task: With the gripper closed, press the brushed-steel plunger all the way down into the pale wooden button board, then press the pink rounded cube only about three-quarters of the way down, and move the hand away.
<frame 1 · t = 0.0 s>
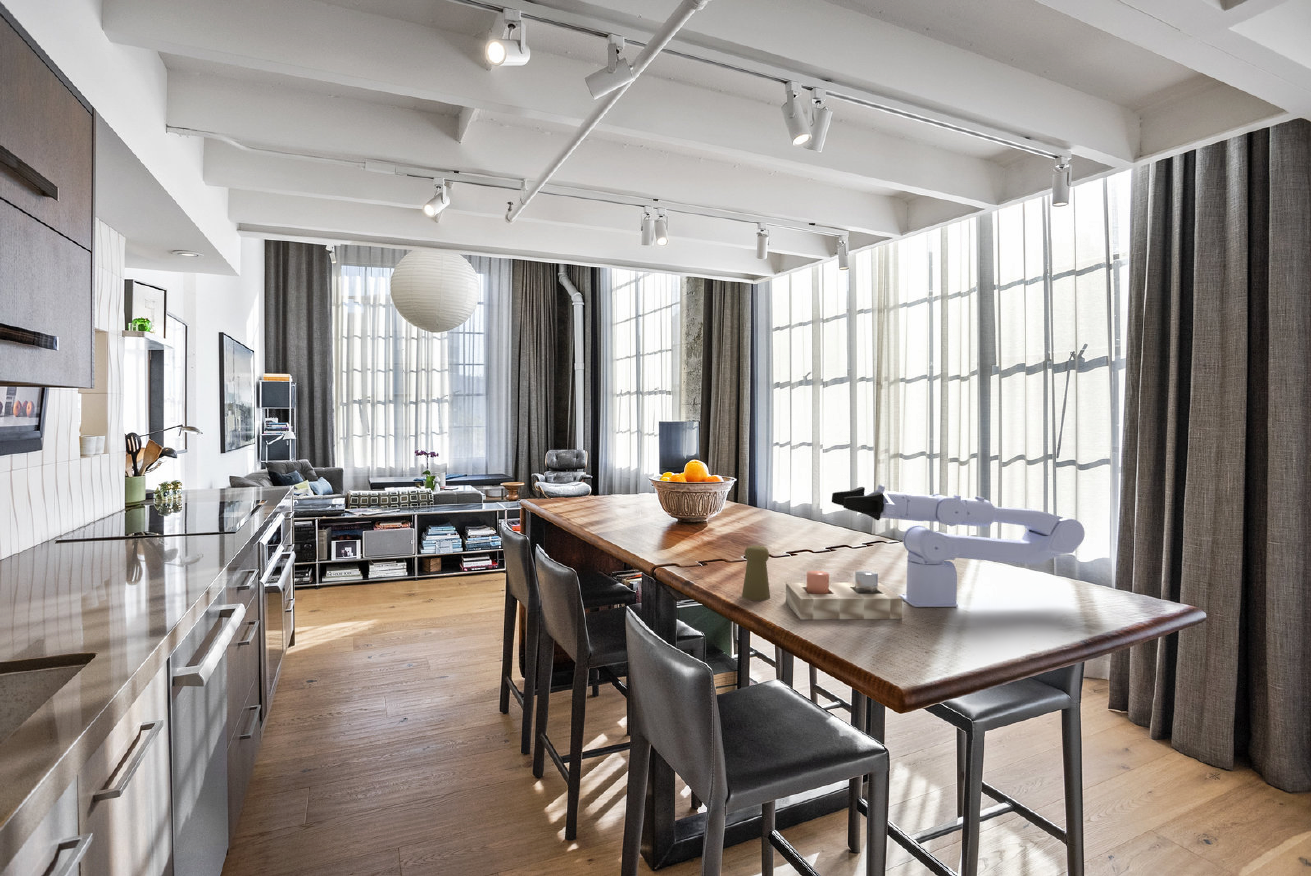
hand: (838, 500, 141), 22 cm above the table, tool horizontal, fingers open, 7 cm apart
steel plunger: (866, 582, 137), point 5 cm above the table, slide at 0.0 cm
pink rounded cube: (817, 583, 136), point 6 cm above the table, slide at 0.0 cm
button board: (841, 609, 137), on the table
olive pawn: (756, 597, 146), on the table
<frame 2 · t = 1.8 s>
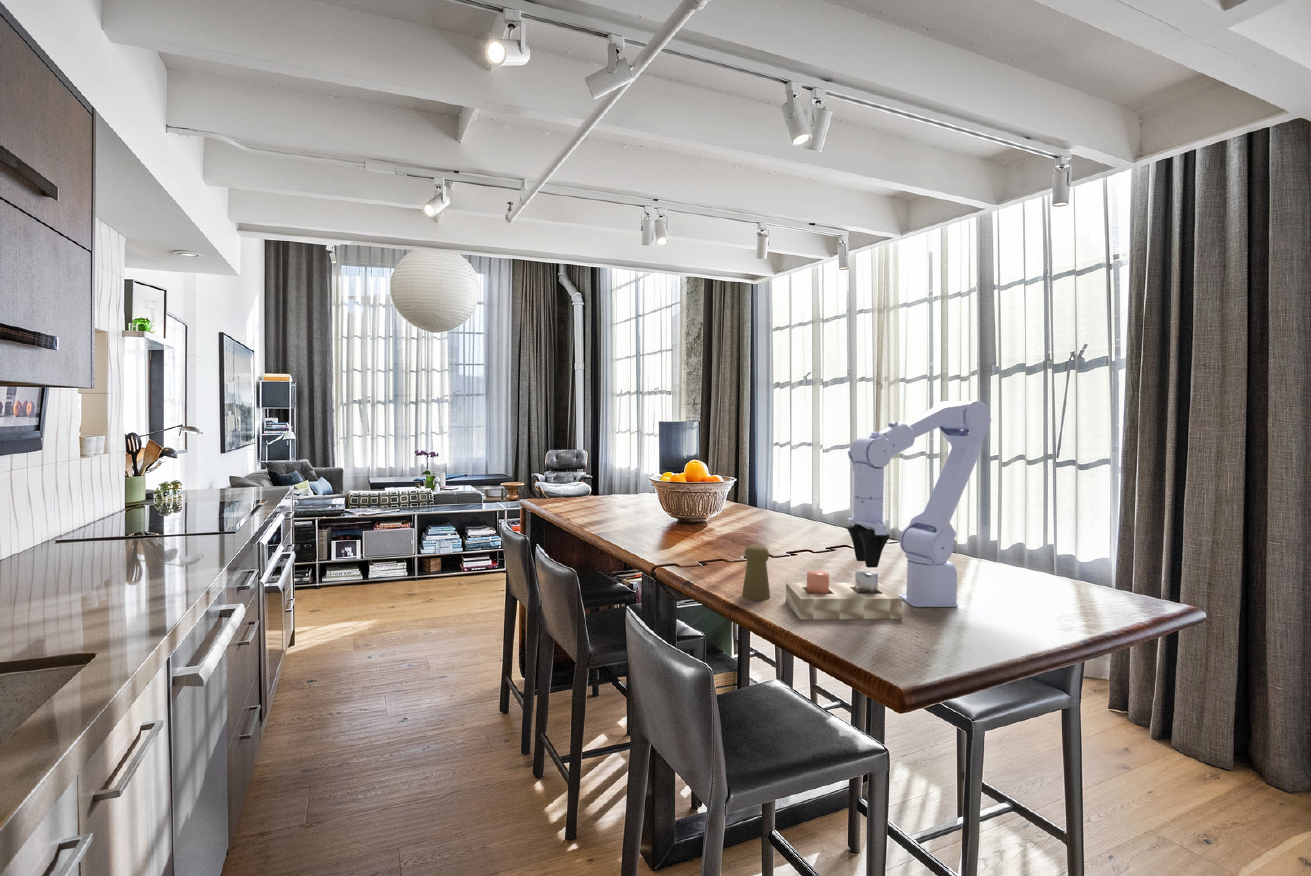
hand: (866, 563, 136), 9 cm above the table, tool pointing down, fingers open, 5 cm apart
nothing on the table moved.
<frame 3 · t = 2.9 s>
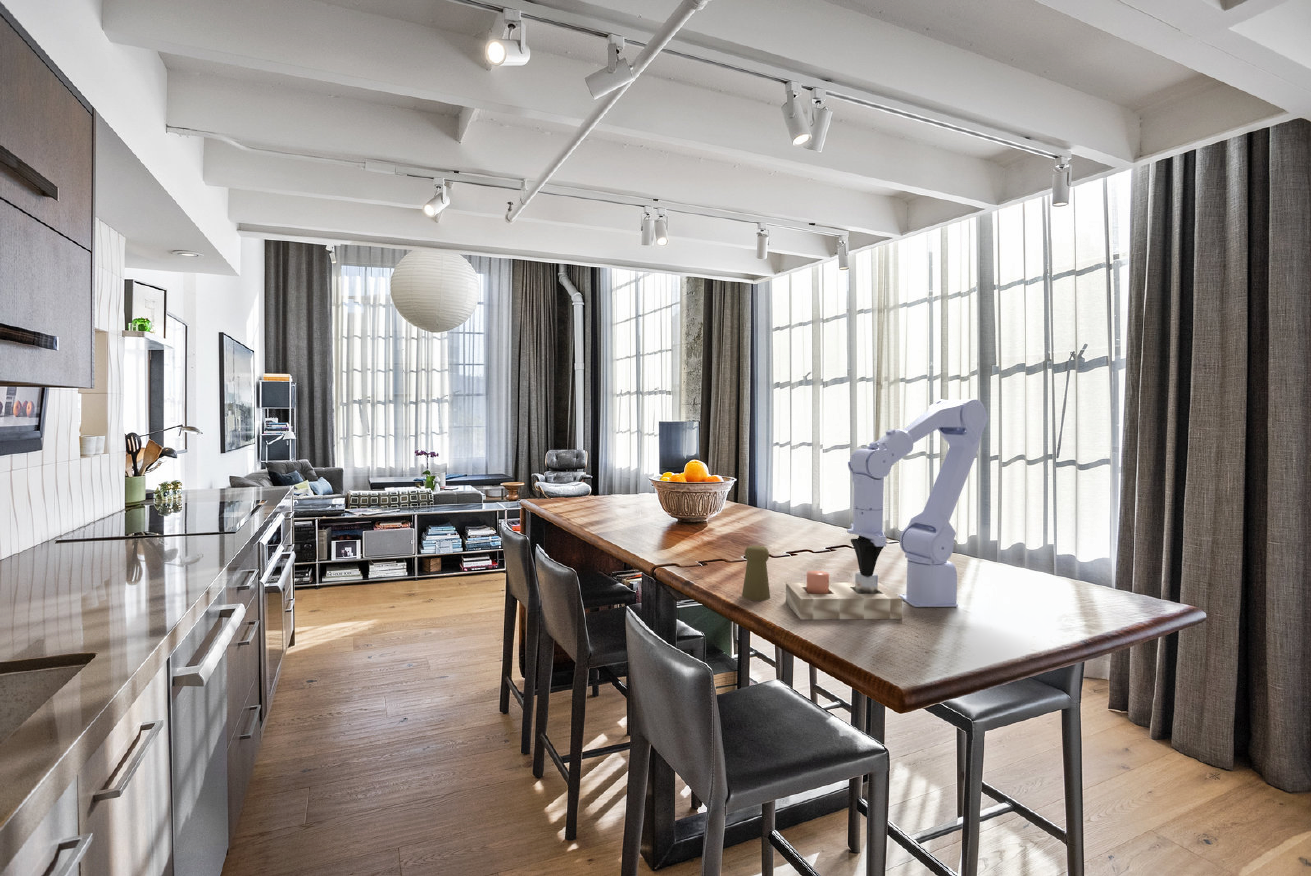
hand: (866, 574, 136), 7 cm above the table, tool pointing down, fingers closed, pressing on steel plunger
steel plunger: (866, 584, 137), point 5 cm above the table, slide at 0.3 cm, touching gripper
everything else where it was.
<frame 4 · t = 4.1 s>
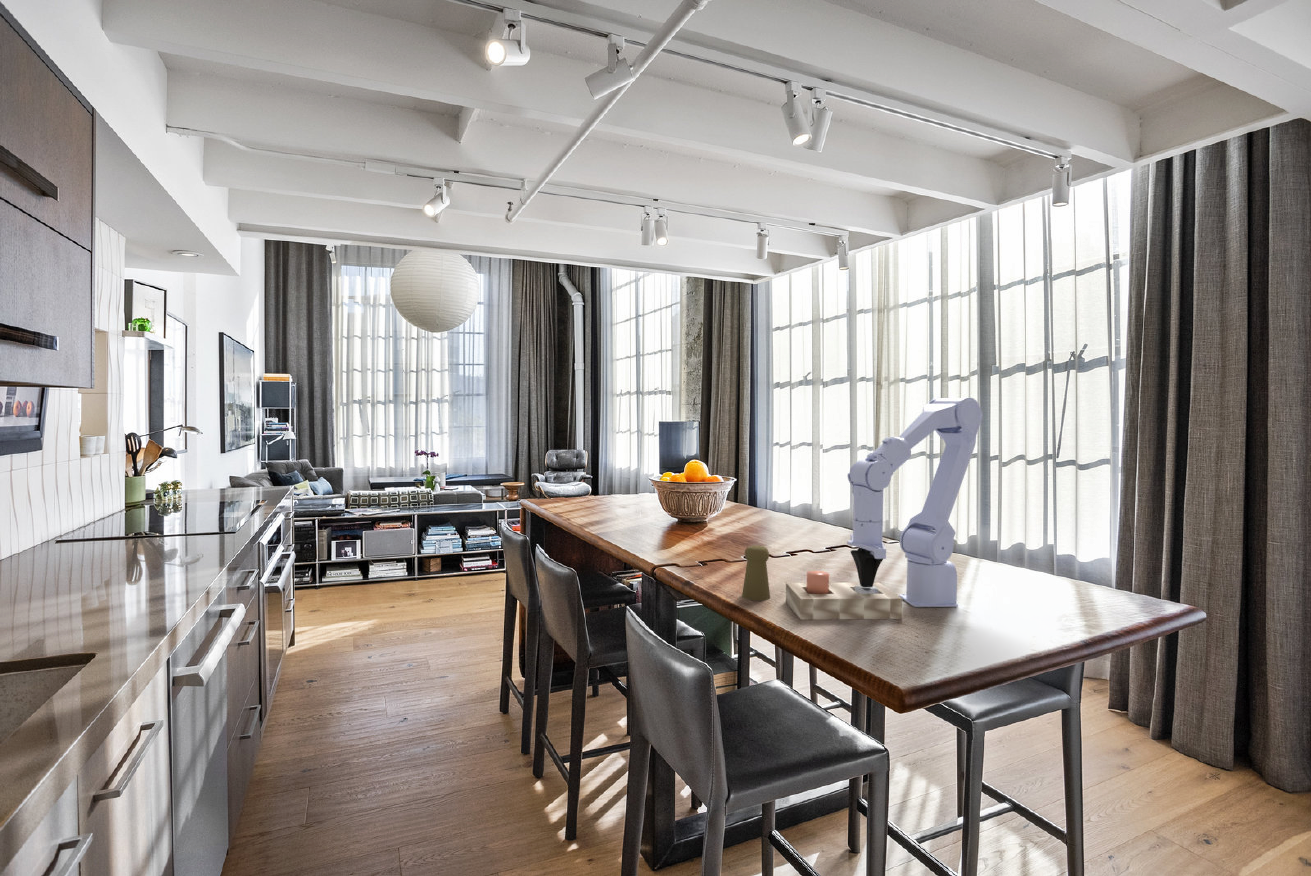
hand: (866, 586, 137), 5 cm above the table, tool pointing down, fingers closed
steel plunger: (865, 597, 137), point 2 cm above the table, slide at 3.0 cm
everything else where it was.
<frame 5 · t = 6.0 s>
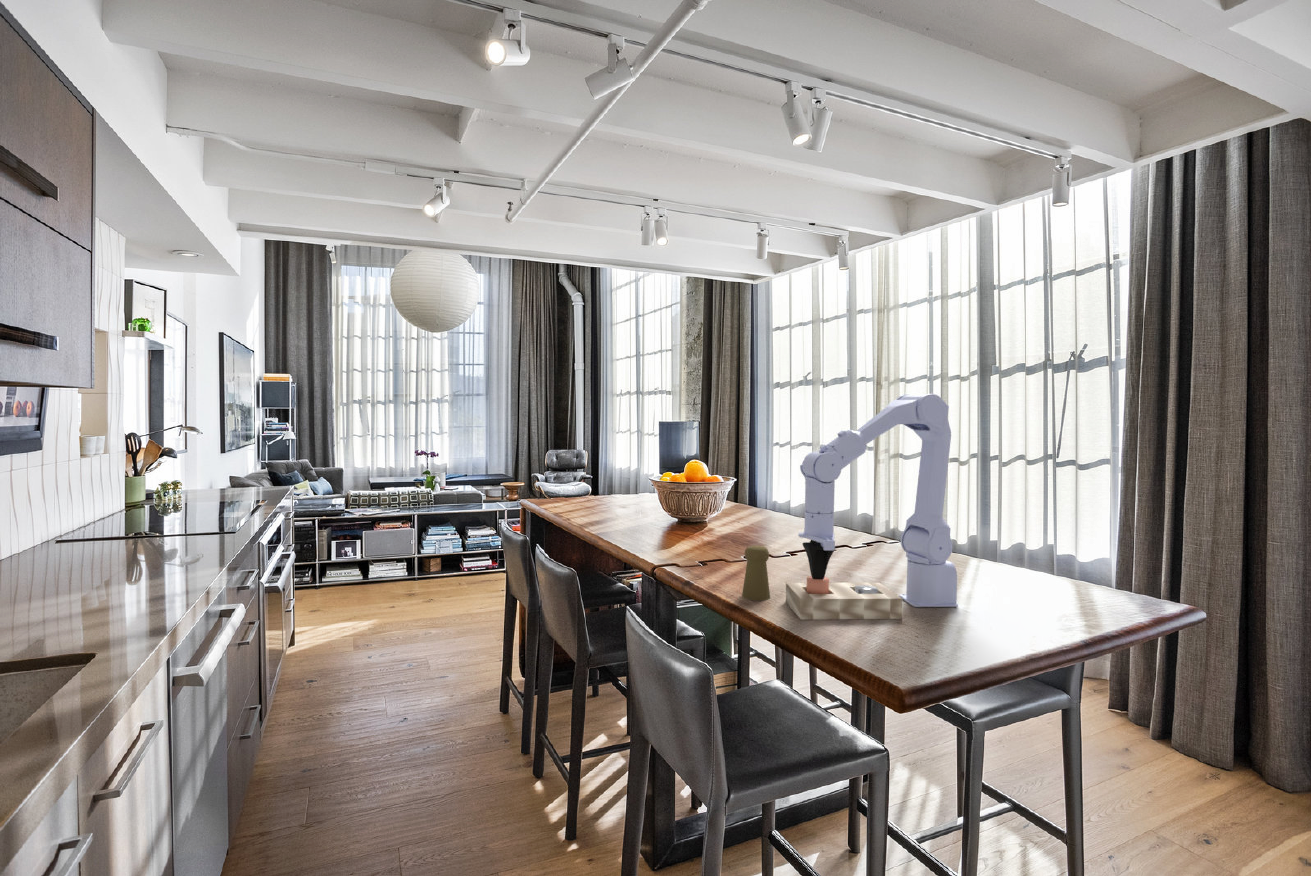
hand: (817, 578, 136), 6 cm above the table, tool pointing down, fingers closed, pressing on pink rounded cube
pink rounded cube: (817, 588, 136), point 4 cm above the table, slide at 1.1 cm, touching gripper
everything else where it was.
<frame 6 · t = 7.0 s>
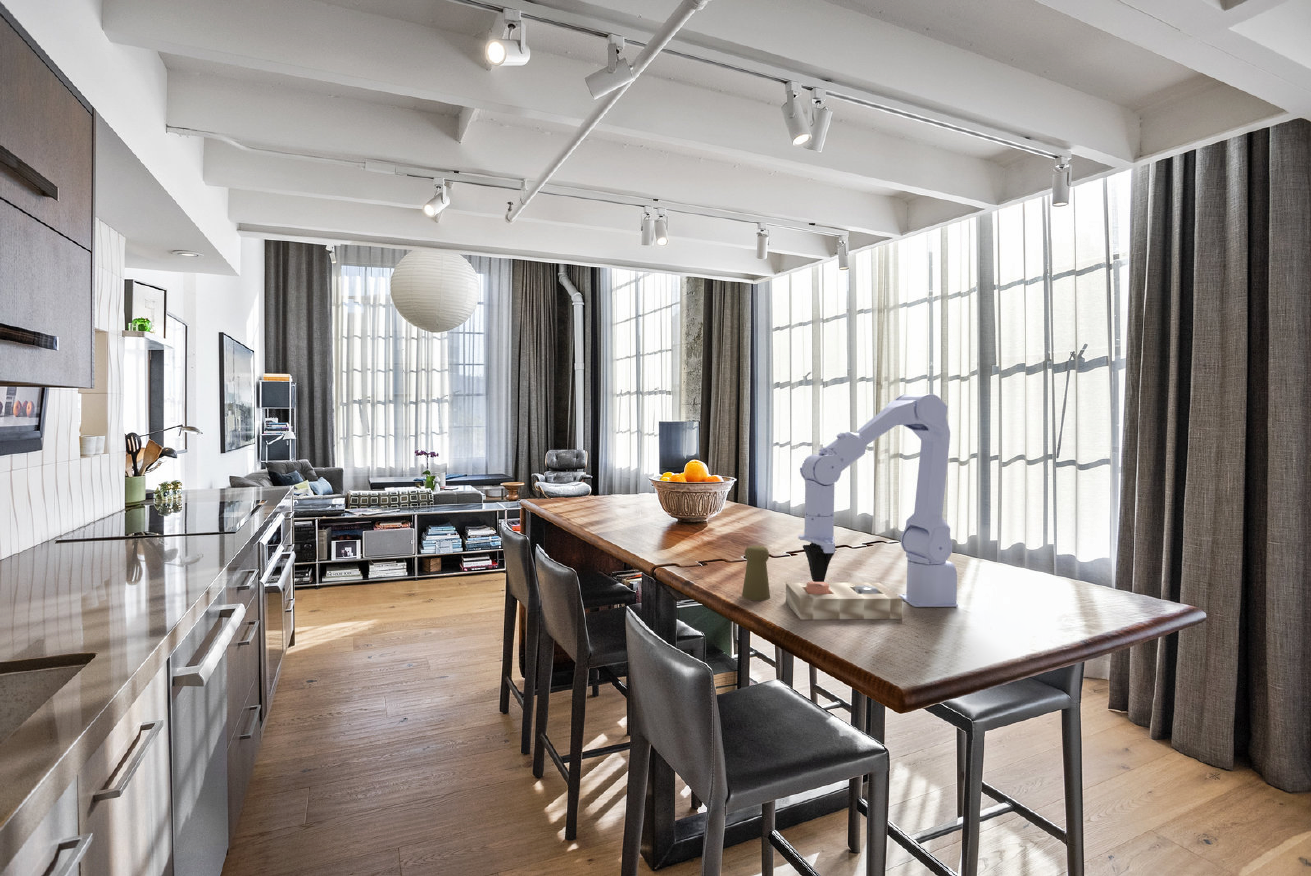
hand: (818, 581, 136), 6 cm above the table, tool pointing down, fingers closed
pink rounded cube: (817, 593, 136), point 3 cm above the table, slide at 2.2 cm
everything else where it was.
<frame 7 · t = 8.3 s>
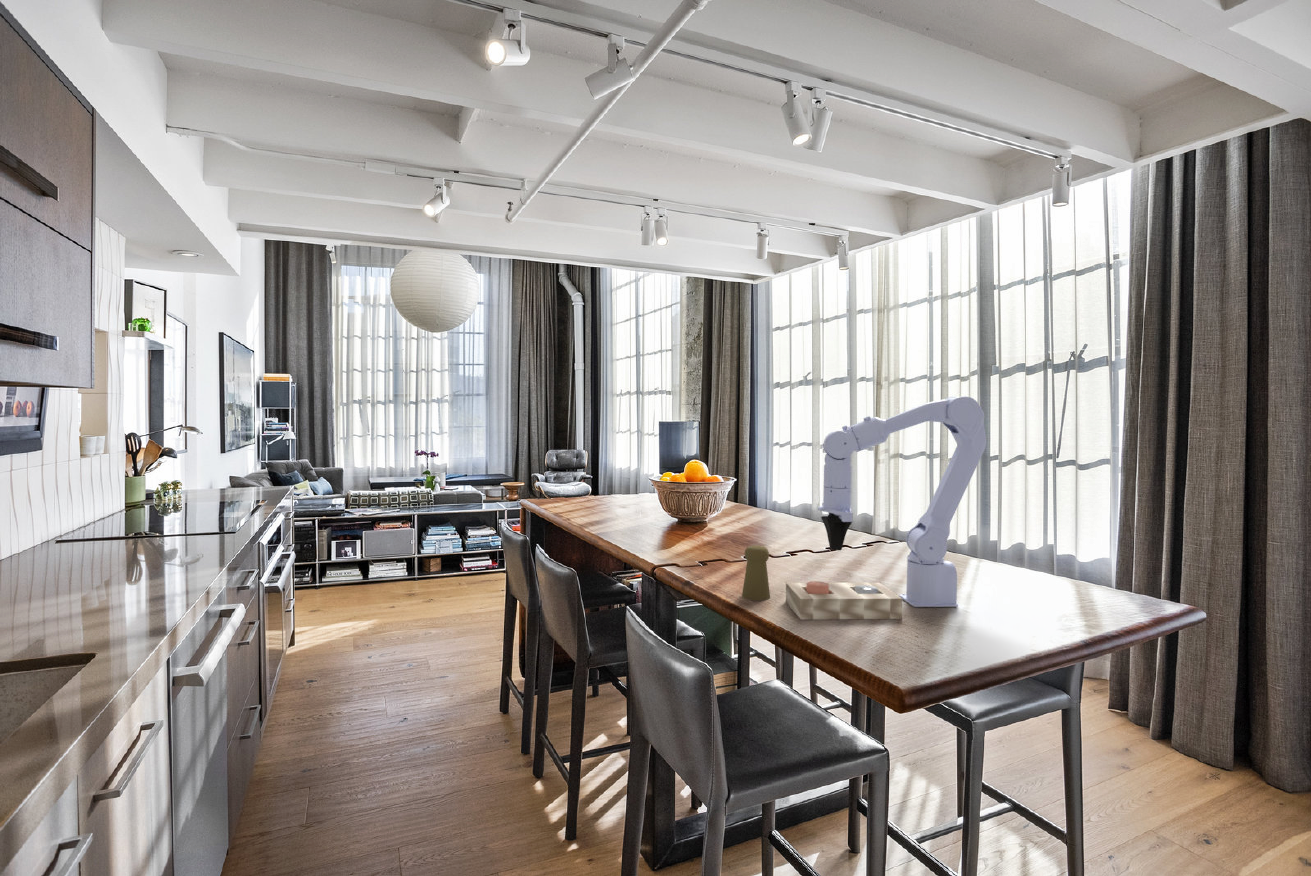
hand: (835, 549, 145), 10 cm above the table, tool pointing down, fingers closed
nothing on the table moved.
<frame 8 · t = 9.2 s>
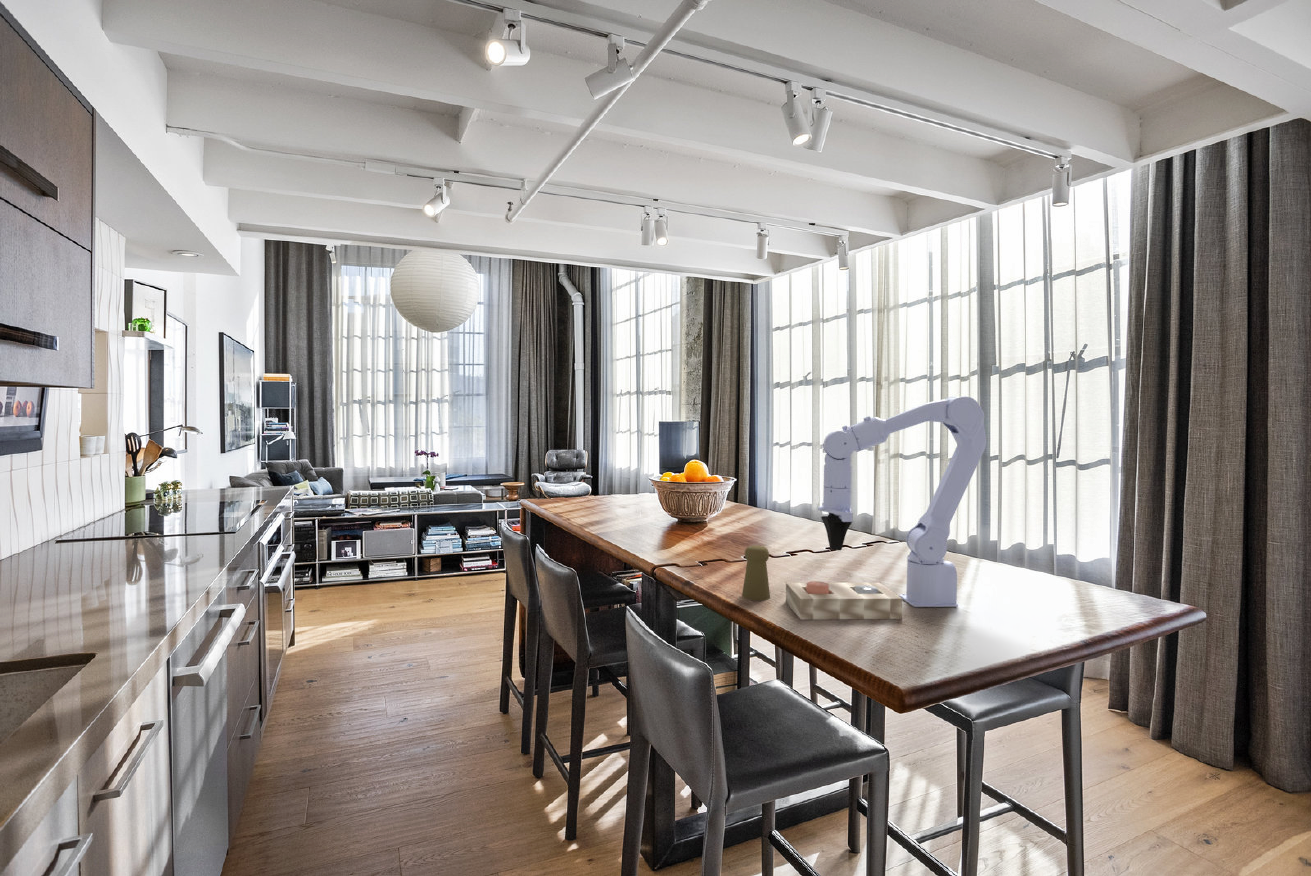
hand: (835, 549, 145), 10 cm above the table, tool pointing down, fingers closed
nothing on the table moved.
at the end: steel plunger slide at 3.0 cm; pink rounded cube slide at 2.2 cm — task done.
